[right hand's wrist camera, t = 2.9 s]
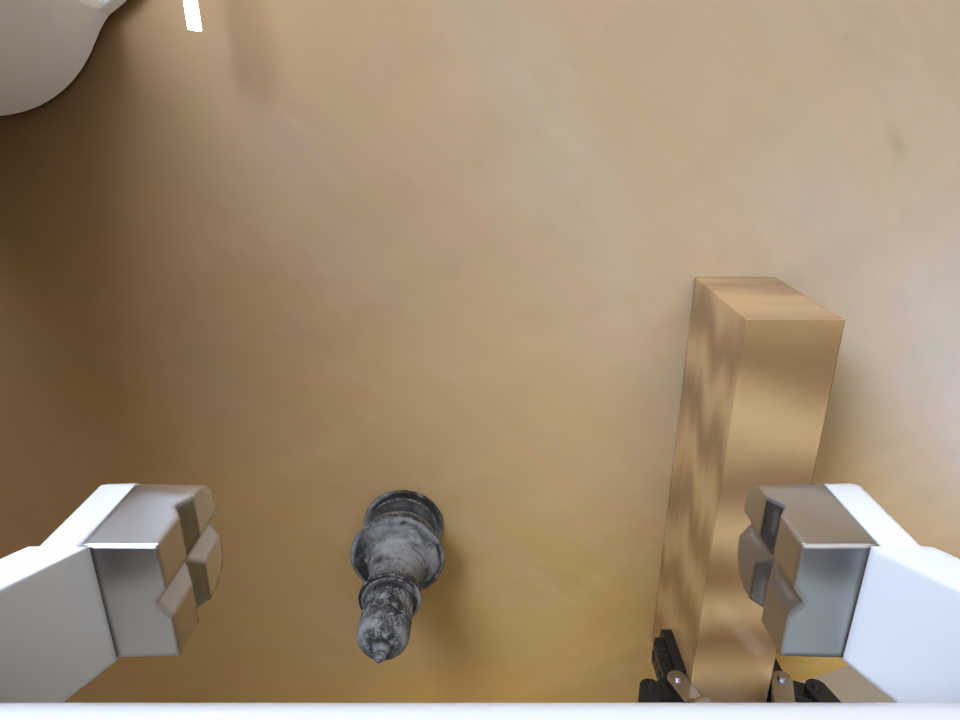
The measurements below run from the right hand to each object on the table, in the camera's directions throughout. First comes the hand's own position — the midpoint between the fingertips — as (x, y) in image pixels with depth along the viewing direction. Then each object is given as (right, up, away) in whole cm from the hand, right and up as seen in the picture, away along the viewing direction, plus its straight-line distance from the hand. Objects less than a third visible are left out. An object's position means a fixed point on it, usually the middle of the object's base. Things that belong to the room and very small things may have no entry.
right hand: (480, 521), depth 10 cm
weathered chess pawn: (-5, -9, +35) cm, 37 cm away
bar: (+15, -5, +34) cm, 38 cm away
